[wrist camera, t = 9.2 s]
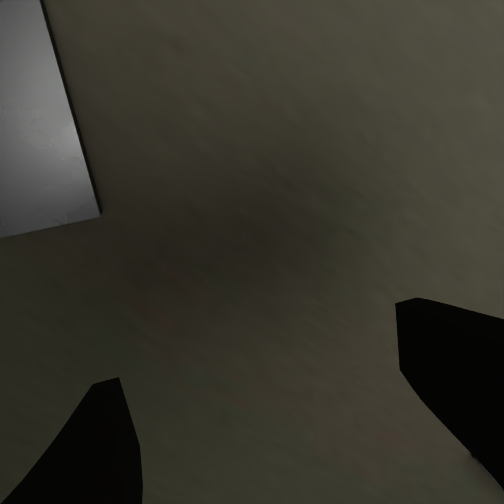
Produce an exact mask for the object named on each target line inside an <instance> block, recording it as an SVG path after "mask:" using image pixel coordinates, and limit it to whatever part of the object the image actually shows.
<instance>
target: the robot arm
mask: <svg viewBox="0 0 504 504" xmlns="http://www.w3.org/2000/svg"><path fill="white" fill-rule="evenodd" d="M395 306H396V321H397V336H398V350H399V365H400V371H401V372H402V374H403V375H404V376H405V378H406V379H407V381H408V382H409V384H410V385H411V387H412V388H413V389H414V391H415V392H416V394H417V395H418V396H419V398H420V399H421V400H422V401H423V402H424V404H425V405H426V406H427V407H428V408H429V409H430V410H431V411H432V412H433V413H434V414H435V416H436V417H437V418H438V419H439V420H440V421H441V422H442V423H443V424H444V425H445V426H446V427H447V428H448V429H449V430H450V431H451V433H452V434H453V435H454V436H455V437H456V438H457V439H458V440H459V441H460V442H461V443H462V444H463V445H464V446H465V447H466V448H467V449H468V450H469V452H470V453H471V454H472V455H473V456H474V457H475V458H476V459H477V460H478V461H479V462H480V463H481V464H482V465H483V466H484V468H485V469H486V470H487V471H488V472H489V473H490V474H491V476H492V477H493V478H494V479H495V480H496V481H497V483H498V484H499V485H500V486H501V488H502V489H503V490H504V319H501V318H497V317H493V316H489V315H485V314H482V313H478V312H474V311H470V310H467V309H463V308H459V307H456V306H452V305H448V304H444V303H440V302H436V301H432V300H428V299H422V298H413V299H409V300H406V301H402V302H398V303H395ZM142 493H143V481H142V466H141V454H140V445H139V442H138V438H137V435H136V432H135V428H134V425H133V422H132V419H131V415H130V412H129V409H128V406H127V402H126V399H125V396H124V393H123V389H122V386H121V383H120V379H119V377H118V378H114V379H110V380H106V381H103V382H99V383H95V384H93V385H92V386H91V387H90V389H89V390H88V392H87V393H86V395H85V396H84V398H83V399H82V400H81V402H80V403H79V405H78V406H77V408H76V409H75V411H74V412H73V414H72V415H71V417H70V418H69V420H68V421H67V423H66V424H65V425H64V427H63V428H62V430H61V431H60V432H59V434H58V435H57V437H56V438H55V439H54V441H53V442H52V443H51V445H50V446H49V447H48V449H47V450H46V451H45V452H44V454H43V455H42V456H41V457H40V459H39V460H38V461H37V463H36V464H35V465H34V466H33V468H32V469H31V470H30V471H29V473H28V474H27V475H26V476H25V477H24V479H23V480H22V481H21V482H20V483H19V484H18V486H17V487H16V488H15V489H14V490H13V491H12V492H11V493H10V495H9V496H8V497H7V498H6V499H5V500H4V501H3V502H2V503H1V504H142Z"/></svg>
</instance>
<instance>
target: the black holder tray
mask: <svg viewBox="0 0 504 504" xmlns="http://www.w3.org/2000/svg"><path fill="white" fill-rule="evenodd" d="M101 214H102V208H101V204H100V201H99V197H98V193H97V190H96V186H95V183H94V179H93V176H92V172H91V169H90V165H89V161H88V158H87V154H86V151H85V147H84V144H83V140H82V136H81V133H80V129H79V126H78V122H77V119H76V115H75V111H74V108H73V104H72V101H71V97H70V94H69V90H68V87H67V83H66V79H65V76H64V72H63V69H62V65H61V62H60V58H59V54H58V51H57V47H56V44H55V40H54V37H53V33H52V29H51V26H50V22H49V19H48V15H47V12H46V8H45V5H44V1H43V0H0V238H3V237H8V236H13V235H17V234H22V233H27V232H32V231H36V230H41V229H46V228H51V227H55V226H60V225H65V224H70V223H74V222H79V221H84V220H89V219H93V218H98V217H101Z"/></svg>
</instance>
